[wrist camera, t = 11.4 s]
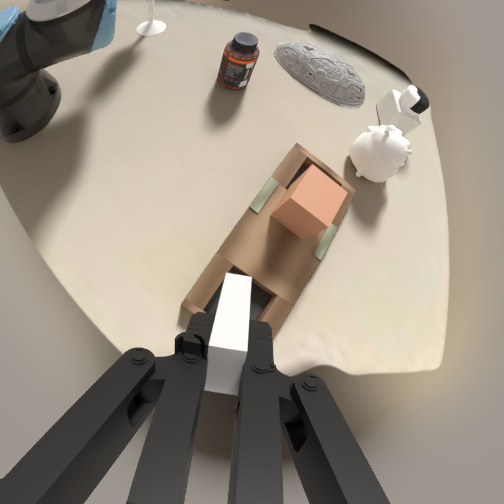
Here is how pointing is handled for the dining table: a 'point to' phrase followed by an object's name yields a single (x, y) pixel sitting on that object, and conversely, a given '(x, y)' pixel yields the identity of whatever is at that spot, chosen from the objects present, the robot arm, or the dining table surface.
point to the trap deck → (269, 249)
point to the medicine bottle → (402, 108)
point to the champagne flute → (151, 24)
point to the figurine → (379, 152)
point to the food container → (322, 72)
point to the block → (309, 203)
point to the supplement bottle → (238, 61)
